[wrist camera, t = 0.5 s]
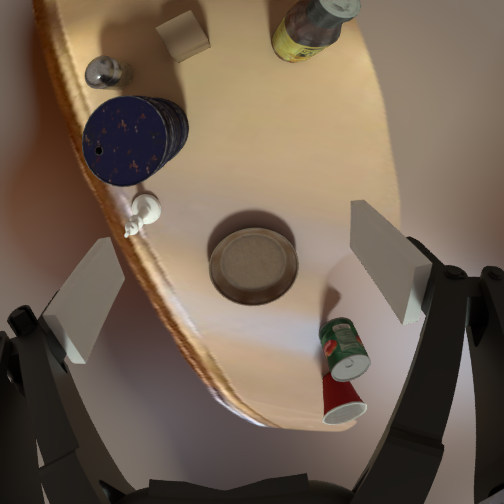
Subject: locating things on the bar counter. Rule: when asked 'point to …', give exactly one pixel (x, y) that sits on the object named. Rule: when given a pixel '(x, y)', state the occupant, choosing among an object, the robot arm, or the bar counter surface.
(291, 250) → the saucer
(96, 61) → the metal shaker
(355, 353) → the canned tomato
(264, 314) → the bar counter surface
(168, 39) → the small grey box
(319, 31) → the sauce bottle
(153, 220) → the chess piece
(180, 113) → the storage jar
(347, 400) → the plastic cup
